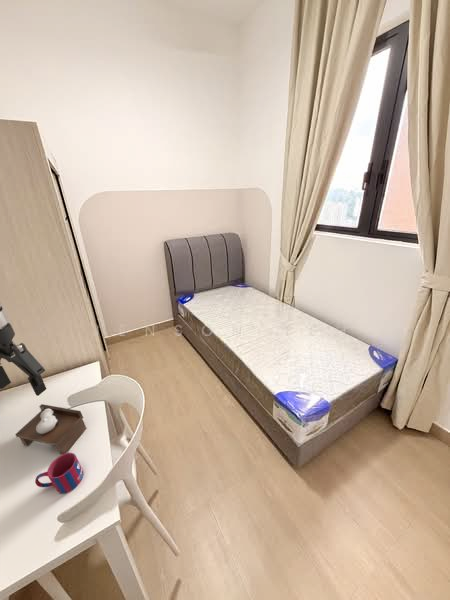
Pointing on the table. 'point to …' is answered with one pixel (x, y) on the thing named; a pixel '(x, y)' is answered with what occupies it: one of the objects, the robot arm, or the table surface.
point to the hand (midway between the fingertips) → (23, 388)
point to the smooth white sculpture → (46, 421)
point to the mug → (63, 473)
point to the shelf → (55, 429)
